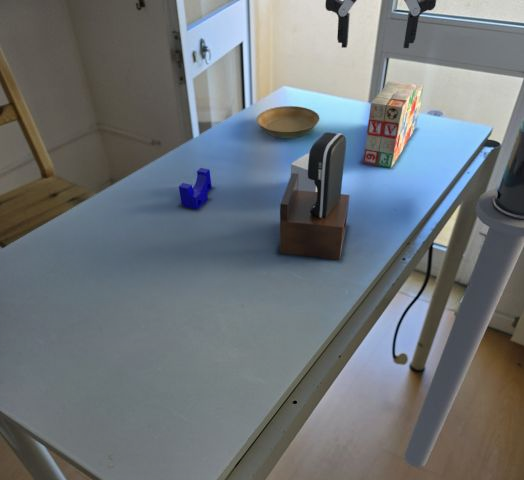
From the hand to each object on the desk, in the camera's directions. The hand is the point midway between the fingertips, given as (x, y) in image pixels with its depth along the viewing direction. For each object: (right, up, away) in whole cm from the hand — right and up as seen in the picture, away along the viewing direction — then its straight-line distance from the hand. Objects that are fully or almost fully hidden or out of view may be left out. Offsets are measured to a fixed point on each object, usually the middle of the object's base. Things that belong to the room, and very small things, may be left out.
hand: (375, 46), depth 67 cm
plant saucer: (-10, +10, +47) cm, 49 cm away
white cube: (-6, -12, +26) cm, 30 cm away
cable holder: (-28, -13, +26) cm, 41 cm away
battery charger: (-6, -20, +11) cm, 23 cm away
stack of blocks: (+13, +3, +39) cm, 41 cm away
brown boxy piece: (-7, -24, +15) cm, 29 cm away
